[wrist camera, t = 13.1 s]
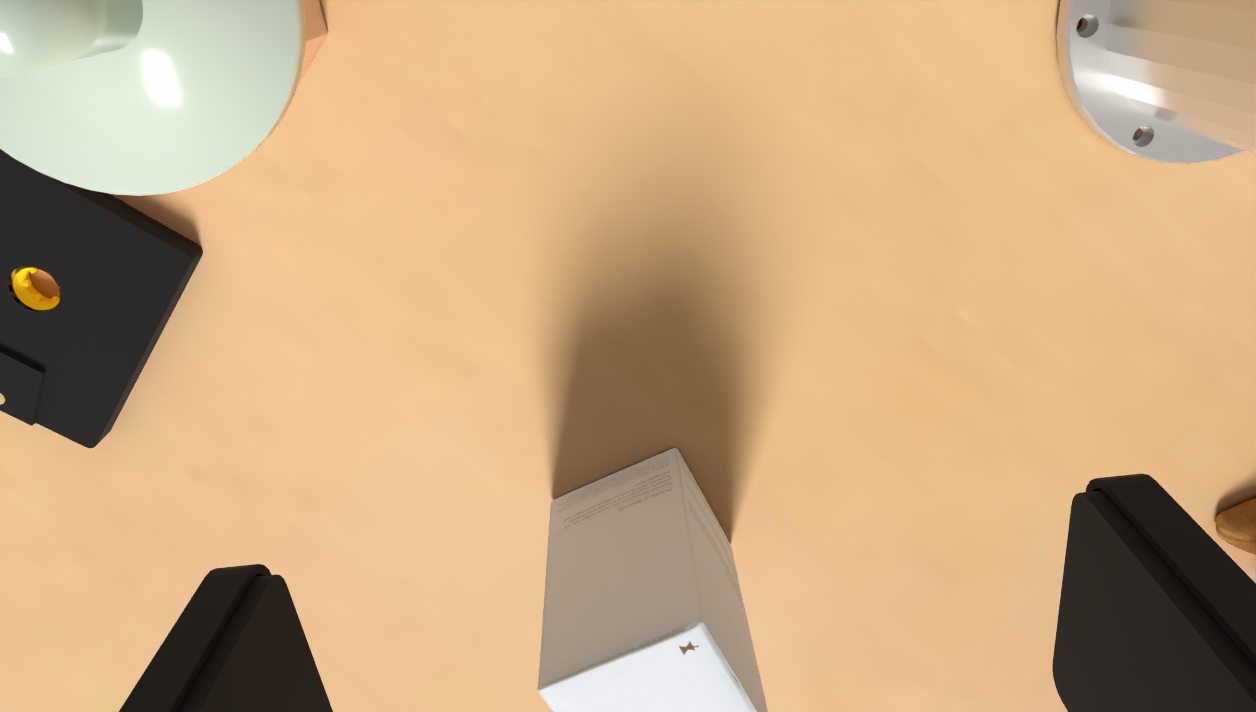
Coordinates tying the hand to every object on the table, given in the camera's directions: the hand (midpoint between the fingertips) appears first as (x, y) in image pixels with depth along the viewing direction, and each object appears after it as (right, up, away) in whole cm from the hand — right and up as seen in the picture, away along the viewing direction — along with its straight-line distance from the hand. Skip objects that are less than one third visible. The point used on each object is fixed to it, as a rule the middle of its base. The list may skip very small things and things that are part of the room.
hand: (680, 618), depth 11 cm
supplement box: (0, -6, +36) cm, 36 cm away
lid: (-18, +15, +19) cm, 31 cm away
